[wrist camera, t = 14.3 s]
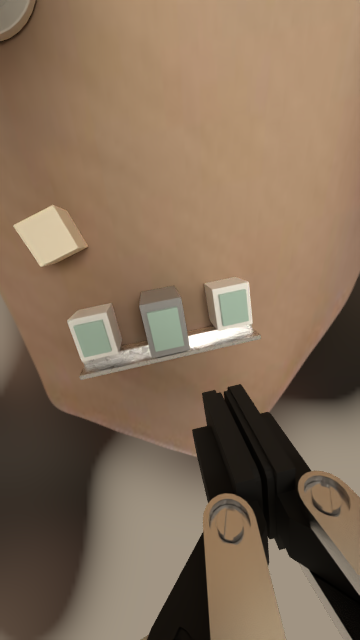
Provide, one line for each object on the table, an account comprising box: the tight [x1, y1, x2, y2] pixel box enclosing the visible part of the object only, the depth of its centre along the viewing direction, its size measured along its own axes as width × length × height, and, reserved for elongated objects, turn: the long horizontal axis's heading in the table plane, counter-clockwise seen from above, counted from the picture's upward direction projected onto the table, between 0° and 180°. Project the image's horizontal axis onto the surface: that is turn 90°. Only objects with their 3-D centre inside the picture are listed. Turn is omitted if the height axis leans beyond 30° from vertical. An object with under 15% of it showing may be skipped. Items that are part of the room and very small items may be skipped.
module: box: [139, 286, 190, 358], centre depth 33 cm, size 7×5×8 cm
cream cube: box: [13, 205, 88, 267], centre depth 30 cm, size 5×5×5 cm
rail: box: [79, 324, 261, 380], centre depth 36 cm, size 2×26×5 cm, turn 101°
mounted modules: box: [67, 277, 253, 362], centre depth 34 cm, size 6×24×6 cm, turn 101°
